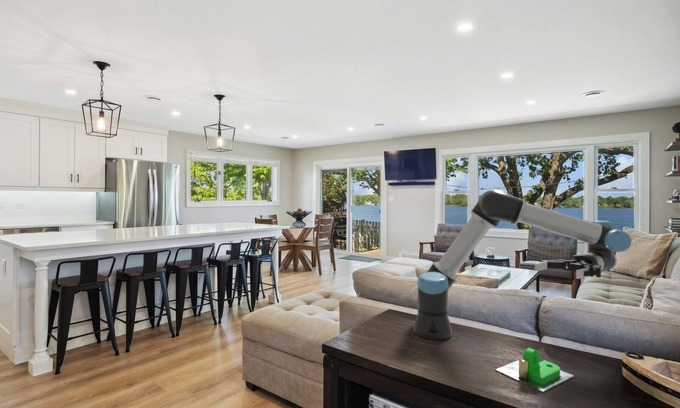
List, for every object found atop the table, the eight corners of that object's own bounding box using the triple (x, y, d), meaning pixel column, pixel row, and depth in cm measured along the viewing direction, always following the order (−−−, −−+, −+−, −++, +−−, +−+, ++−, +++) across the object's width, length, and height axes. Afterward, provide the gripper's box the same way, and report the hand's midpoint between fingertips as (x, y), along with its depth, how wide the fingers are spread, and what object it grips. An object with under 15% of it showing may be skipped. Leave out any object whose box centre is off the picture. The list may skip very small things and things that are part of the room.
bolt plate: (495, 370, 115) (495, 352, 115) (526, 357, 124) (527, 340, 124) (542, 392, 102) (542, 371, 102) (574, 376, 111) (574, 357, 111)
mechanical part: (542, 384, 106) (542, 357, 105) (522, 376, 111) (522, 350, 110) (563, 374, 112) (564, 348, 112) (544, 366, 117) (544, 341, 117)
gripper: (627, 281, 123) (596, 290, 112) (552, 268, 144) (520, 274, 133) (627, 259, 123) (597, 265, 112) (552, 249, 144) (520, 254, 133)
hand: (555, 270), depth 123 cm, fingers open, 13 cm apart
